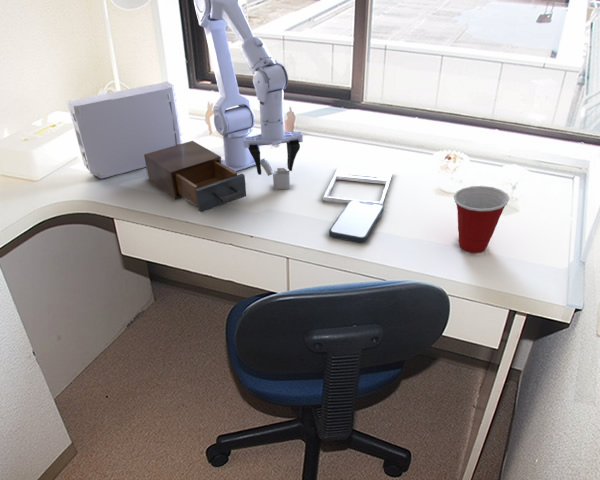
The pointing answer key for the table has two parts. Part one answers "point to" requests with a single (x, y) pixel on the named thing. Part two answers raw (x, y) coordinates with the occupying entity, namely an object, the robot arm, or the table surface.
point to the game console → (125, 127)
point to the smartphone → (356, 221)
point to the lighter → (277, 175)
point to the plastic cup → (478, 215)
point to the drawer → (210, 185)
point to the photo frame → (362, 177)
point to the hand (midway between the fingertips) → (274, 171)
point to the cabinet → (176, 164)
